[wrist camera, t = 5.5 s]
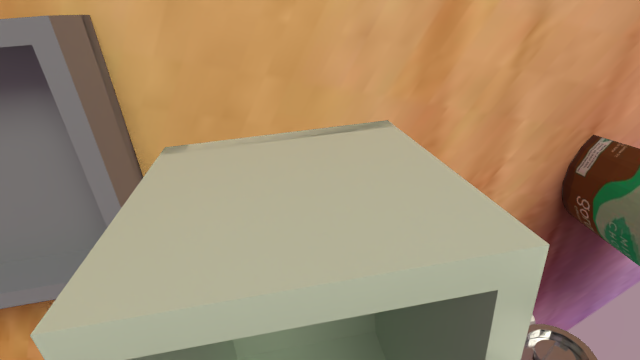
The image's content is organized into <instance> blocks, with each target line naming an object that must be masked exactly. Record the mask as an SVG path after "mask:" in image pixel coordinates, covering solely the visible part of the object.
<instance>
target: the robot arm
mask: <svg viewBox="0 0 640 360" xmlns="http://www.w3.org/2000/svg"><path fill="white" fill-rule="evenodd" d="M521 360H597V358H596V356H595V355H594V354H593V352H592V351H591V349H590V348H589V347H588V346H587V345H586V344H585V343H583V342H582V341H581V340H580V339H579V338H577V337H576V336H574V335H572V334H570V333H569V332H567V331H565V330H562V329H560V328H557V327H554V326H550V325H545V324H535V319H534V317H533V314H532V317H531V321H530V325H529V329H528V333H527V337H526V341H525V345H524V349H523V353H522V357H521Z"/></svg>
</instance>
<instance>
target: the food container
mask: <svg viewBox="0 0 640 360" xmlns="http://www.w3.org/2000/svg"><path fill="white" fill-rule="evenodd" d="M562 200H563V203H564V206H565V208H566V210H567V211H568V213H570V214H571V215H572V216H573V217H575V218H576V219H577V220H579V221H580V222H581V223H583V224H584V225H585V226H587V227H588V228H589V229H591V230H592V231H593V232H595V233H596V234H597V235H599V236H600V237H601V238H603V239H604V240H605V241H607V242H608V243H609V244H611V245H612V246H613V247H615V248H616V249H617V250H619V251H620V252H621V253H623V254H624V255H625V256H627V257H628V258H629V259H631V260H632V261H633V262H635V263H636V264H638V265H639V266H640V149H638V148H635V147H632V146H629V145H625V144H622V143H619V142H615V141H612V140H609V139H606V138H602V137H599V136H596V135H593V136H592V137H591V138H590V139H589V140H588V141H587V142H586V143H585V144H584V145H583V146H582V147H581V148H580V150H579V152H578V153H577V155H576V156H575V158H574V159H573V161H572V162H571V164H570V165H569V168H568V170H567V173H566V176H565V178H564V181H563V189H562Z"/></svg>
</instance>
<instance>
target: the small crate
mask: <svg viewBox="0 0 640 360" xmlns="http://www.w3.org/2000/svg"><path fill="white" fill-rule="evenodd" d="M548 249H549V244H548V243H547V242H546V241H544V240H543V239H542V238H540V237H539V236H538V235H536V234H535V233H534V232H533V231H531V230H530V229H529V228H527V227H526V226H525V225H523V224H522V223H521V222H519V221H518V220H517V219H516V218H514V217H513V216H512V215H510V214H509V213H508V212H506V211H505V210H504V209H503V208H501V207H500V206H499V205H497V204H496V203H495V202H493V201H492V200H491V199H489V198H488V197H487V196H486V195H484V194H483V193H482V192H480V191H479V190H478V189H476V188H475V187H474V186H473V185H471V184H470V183H469V182H467V181H466V180H465V179H463V178H462V177H461V176H459V175H458V174H457V173H456V172H454V171H453V170H452V169H450V168H449V167H448V166H446V165H445V164H444V163H443V162H441V161H440V160H439V159H437V158H436V157H435V156H433V155H432V154H431V153H430V152H428V151H427V150H426V149H424V148H423V147H422V146H420V145H419V144H418V143H416V142H415V141H414V140H413V139H411V138H410V137H409V136H407V135H406V134H405V133H403V132H402V131H401V130H400V129H398V128H397V127H396V126H394V125H393V124H392V123H390V122H389V121H388V120H387V121H378V122H370V123H362V124H354V125H345V126H337V127H329V128H321V129H313V130H304V131H296V132H288V133H280V134H272V135H263V136H255V137H247V138H239V139H230V140H222V141H214V142H206V143H198V144H189V145H181V146H173V147H165V148H164V149H163V151H162V152H161V154H160V155H159V156H158V158H157V159H156V161H155V162H154V163H153V165H152V166H151V168H150V169H149V170H148V172H147V173H146V174H145V176H144V177H143V179H142V180H141V181H140V183H139V184H138V186H137V187H136V188H135V190H134V191H133V193H132V194H131V195H130V197H129V198H128V200H127V201H126V202H125V204H124V205H123V207H122V208H121V209H120V211H119V212H118V214H117V215H116V216H115V218H114V219H113V220H112V222H111V223H110V225H109V226H108V227H107V229H106V230H105V232H104V233H103V234H102V236H101V237H100V239H99V240H98V241H97V243H96V244H95V246H94V247H93V248H92V250H91V251H90V253H89V254H88V255H87V257H86V258H85V260H84V261H83V262H82V264H81V265H80V266H79V268H78V269H77V271H76V272H75V273H74V275H73V276H72V278H71V279H70V280H69V282H68V283H67V285H66V286H65V287H64V289H63V290H62V292H61V293H60V294H59V296H58V297H57V299H56V300H55V301H54V303H53V304H52V306H51V307H50V308H49V310H48V311H47V312H46V314H45V315H44V317H43V318H42V319H41V321H40V322H39V324H38V325H37V326H36V328H35V329H34V331H33V332H32V333H31V335H30V336H31V338H32V339H33V341H34V343H35V344H36V346H37V348H38V349H39V351H40V353H41V354H42V356H43V358H44V359H45V360H521V357H522V353H523V349H524V345H525V341H526V337H527V333H528V329H529V325H530V321H531V317H532V313H533V309H534V305H535V301H536V297H537V293H538V289H539V285H540V281H541V277H542V273H543V269H544V265H545V261H546V257H547V253H548Z"/></svg>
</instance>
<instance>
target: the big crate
mask: <svg viewBox="0 0 640 360" xmlns="http://www.w3.org/2000/svg"><path fill="white" fill-rule="evenodd" d="M142 179H143V175H142V172H141V169H140V166H139V163H138V160H137V157H136V154H135V151H134V148H133V145H132V142H131V139H130V136H129V133H128V130H127V127H126V124H125V121H124V118H123V115H122V112H121V109H120V106H119V103H118V100H117V97H116V94H115V91H114V88H113V85H112V82H111V79H110V76H109V73H108V70H107V67H106V64H105V61H104V58H103V55H102V52H101V49H100V46H99V43H98V40H97V37H96V34H95V31H94V28H93V25H92V21H91V18H90V15H59V16H38V17H25V18H11V19H0V309H2V308H8V307H14V306H19V305H25V304H31V303H37V302H43V301H49V300H54V299H57V297H58V296H59V294H60V293H61V292H62V290H63V289H64V287H65V286H66V285H67V283H68V282H69V280H70V279H71V278H72V276H73V275H74V273H75V272H76V271H77V269H78V268H79V266H80V265H81V264H82V262H83V261H84V260H85V258H86V257H87V255H88V254H89V253H90V251H91V250H92V248H93V247H94V246H95V244H96V243H97V241H98V240H99V239H100V237H101V236H102V234H103V233H104V232H105V230H106V229H107V227H108V226H109V225H110V223H111V222H112V220H113V219H114V218H115V216H116V215H117V214H118V212H119V211H120V209H121V208H122V207H123V205H124V204H125V202H126V201H127V200H128V198H129V197H130V195H131V194H132V193H133V191H134V190H135V188H136V187H137V186H138V184H139V183H140V181H141V180H142Z"/></svg>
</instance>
